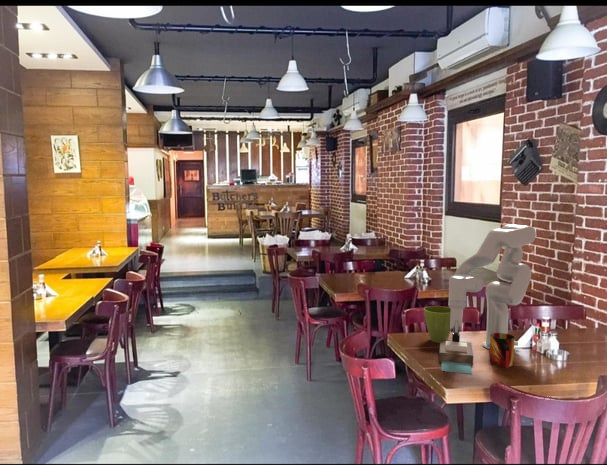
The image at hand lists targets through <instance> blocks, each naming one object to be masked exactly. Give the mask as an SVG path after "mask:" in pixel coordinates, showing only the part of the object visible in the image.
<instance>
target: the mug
mask: <svg viewBox="0 0 607 465" xmlns="http://www.w3.org/2000/svg"><path fill="white" fill-rule="evenodd" d="M514 341H515V336H514V335H512V334H509V333H508V334H505V333H492V334H491V335H490V349H489V363H490V364H491V365H493V366H497V367H502V368H506V369H509V368H510V367H512V366H514V356H515V355H514V354H515V345H514Z"/></svg>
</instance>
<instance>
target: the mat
mask: <svg viewBox="0 0 607 465" xmlns="http://www.w3.org/2000/svg"><path fill="white" fill-rule="evenodd" d="M440 366H441V368H440V372H443V371H445V373H453V372H455V373H454V374H462V373H464V375H473V372H472V365H471V364H466V363H456V362H445V361H442V362H441V365H440Z"/></svg>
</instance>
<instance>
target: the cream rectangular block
mask: <svg viewBox="0 0 607 465" xmlns="http://www.w3.org/2000/svg"><path fill="white" fill-rule="evenodd" d="M463 342H464V341H460V342H452V340H448V341H446V350H448V351H459V352H467V343H463Z"/></svg>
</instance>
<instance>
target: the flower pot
mask: <svg viewBox="0 0 607 465" xmlns="http://www.w3.org/2000/svg"><path fill="white" fill-rule="evenodd" d="M450 310H451V307H449V306H440V305H439V306H438V305H430V306H425V307H424V308H423V311H424V312H423V313H424V314H423V315H424V319H425V325H426V329H427V333H428V336H429V338H430V341H431V342H433V343H437V344H438V343H439V344H440V340H448V338H449V336H450V334H451V330H452V329H450Z"/></svg>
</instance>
